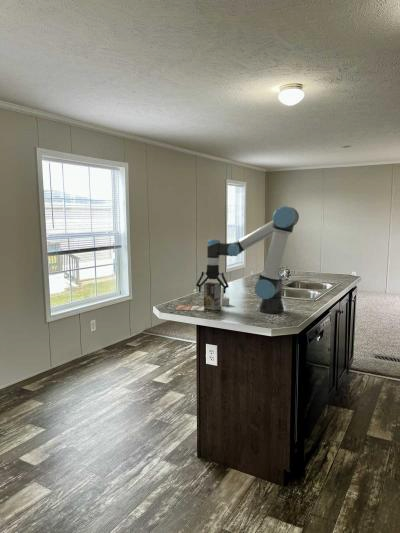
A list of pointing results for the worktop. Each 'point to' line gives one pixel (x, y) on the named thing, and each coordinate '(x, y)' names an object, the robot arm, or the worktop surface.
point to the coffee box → (212, 295)
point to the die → (224, 301)
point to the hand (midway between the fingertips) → (211, 298)
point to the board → (192, 308)
